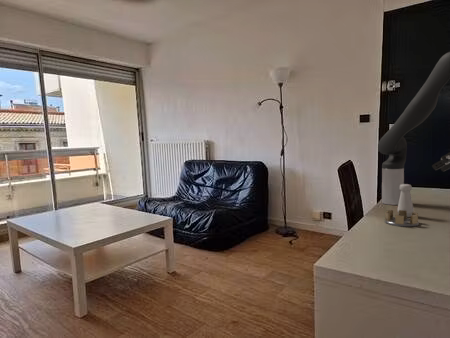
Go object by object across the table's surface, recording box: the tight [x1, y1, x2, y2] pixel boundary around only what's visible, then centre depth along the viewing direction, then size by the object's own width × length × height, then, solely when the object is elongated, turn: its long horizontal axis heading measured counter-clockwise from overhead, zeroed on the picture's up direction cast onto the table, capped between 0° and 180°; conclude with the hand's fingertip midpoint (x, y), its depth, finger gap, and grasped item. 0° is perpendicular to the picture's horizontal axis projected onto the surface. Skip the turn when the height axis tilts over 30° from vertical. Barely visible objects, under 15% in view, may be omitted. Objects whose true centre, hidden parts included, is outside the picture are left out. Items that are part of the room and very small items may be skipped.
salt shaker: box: [397, 183, 415, 218], centre depth 122 cm, size 6×6×13 cm
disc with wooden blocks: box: [384, 209, 420, 228], centre depth 112 cm, size 11×11×4 cm
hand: (437, 168), depth 115 cm, fingers open, 8 cm apart
